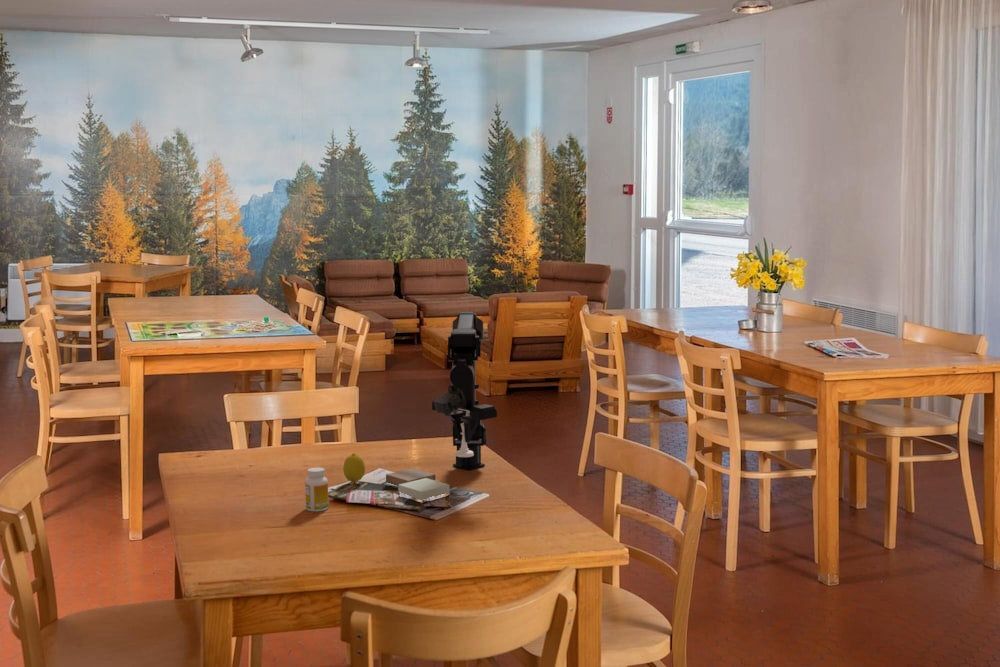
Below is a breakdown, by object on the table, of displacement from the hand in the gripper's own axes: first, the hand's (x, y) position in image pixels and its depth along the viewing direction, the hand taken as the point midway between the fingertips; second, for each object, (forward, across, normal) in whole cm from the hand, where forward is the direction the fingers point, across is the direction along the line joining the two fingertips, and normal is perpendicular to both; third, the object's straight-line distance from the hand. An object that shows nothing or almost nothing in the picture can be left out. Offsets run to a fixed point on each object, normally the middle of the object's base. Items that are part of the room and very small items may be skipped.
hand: (464, 441), depth 280 cm
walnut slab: (+12, -12, -8) cm, 19 cm away
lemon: (+12, -24, -17) cm, 32 cm away
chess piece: (+4, 0, 0) cm, 4 cm away
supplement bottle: (+12, -12, -37) cm, 41 cm away
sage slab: (+12, -2, -12) cm, 17 cm away
